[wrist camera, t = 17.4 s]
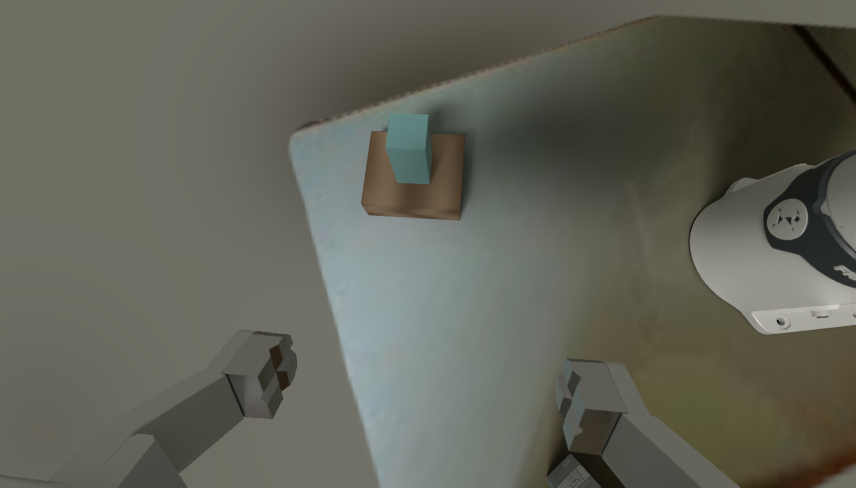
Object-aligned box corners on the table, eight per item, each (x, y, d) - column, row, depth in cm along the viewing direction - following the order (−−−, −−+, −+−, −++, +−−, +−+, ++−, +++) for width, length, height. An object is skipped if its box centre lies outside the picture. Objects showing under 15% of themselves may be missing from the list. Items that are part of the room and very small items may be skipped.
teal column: (432, 154, 43) (428, 114, 35) (429, 184, 42) (425, 149, 34) (400, 153, 43) (389, 113, 35) (397, 182, 42) (385, 147, 34)
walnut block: (463, 151, 47) (465, 134, 43) (459, 220, 44) (460, 209, 40) (377, 147, 48) (371, 131, 44) (368, 215, 45) (361, 203, 41)
